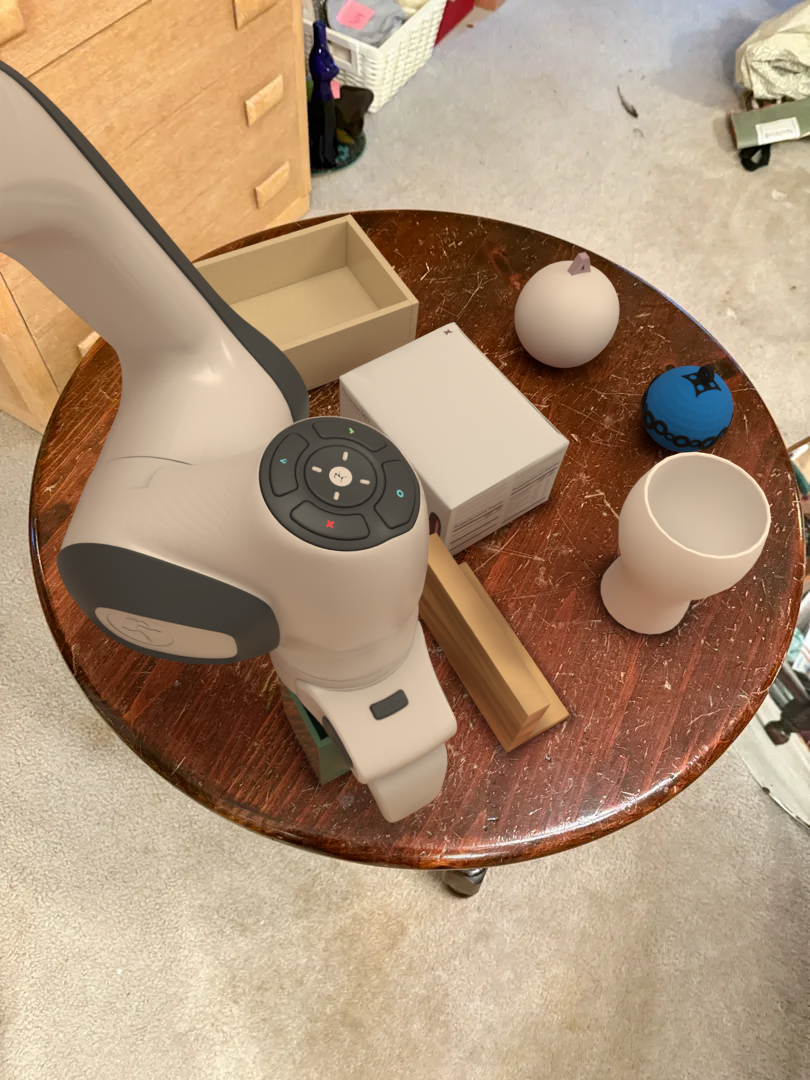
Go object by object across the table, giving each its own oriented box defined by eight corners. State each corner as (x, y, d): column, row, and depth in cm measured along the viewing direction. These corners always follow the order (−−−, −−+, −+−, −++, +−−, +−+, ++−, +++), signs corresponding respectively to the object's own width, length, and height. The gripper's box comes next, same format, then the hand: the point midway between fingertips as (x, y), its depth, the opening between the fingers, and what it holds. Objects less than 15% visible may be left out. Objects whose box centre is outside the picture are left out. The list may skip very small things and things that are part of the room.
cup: (631, 524, 77) (690, 423, 64) (724, 598, 73) (806, 507, 61) (560, 592, 73) (607, 498, 60) (655, 674, 69) (727, 593, 56)
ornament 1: (548, 302, 91) (574, 211, 81) (621, 353, 88) (657, 264, 78) (488, 348, 87) (507, 257, 77) (562, 402, 84) (593, 315, 74)
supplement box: (336, 440, 80) (335, 374, 72) (443, 385, 84) (454, 318, 76) (438, 566, 73) (450, 510, 65) (549, 500, 78) (573, 439, 70)
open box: (252, 412, 81) (244, 364, 75) (195, 316, 87) (184, 265, 81) (414, 350, 86) (419, 302, 81) (349, 265, 92) (350, 214, 87)
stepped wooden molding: (506, 753, 65) (528, 716, 57) (406, 594, 72) (414, 542, 64) (567, 718, 67) (596, 677, 59) (464, 566, 73) (478, 512, 66)
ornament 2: (729, 458, 82) (775, 391, 73) (655, 480, 80) (693, 414, 71) (686, 395, 86) (724, 325, 77) (614, 414, 84) (645, 344, 75)
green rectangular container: (358, 776, 66) (256, 803, 57) (322, 707, 69) (218, 722, 60) (457, 695, 62) (363, 709, 52) (413, 625, 65) (316, 626, 55)
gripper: (222, 518, 52) (244, 612, 64) (375, 806, 44) (368, 853, 55) (311, 481, 54) (316, 579, 66) (474, 750, 45) (447, 807, 57)
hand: (341, 706), depth 61 cm, fingers open, 7 cm apart
